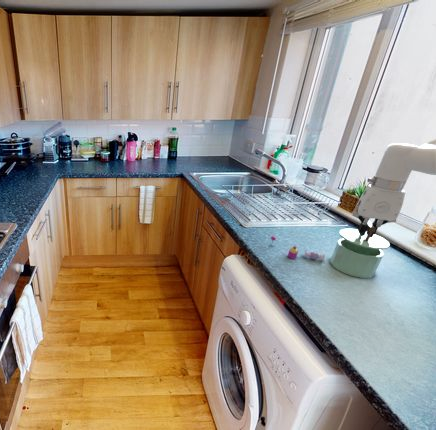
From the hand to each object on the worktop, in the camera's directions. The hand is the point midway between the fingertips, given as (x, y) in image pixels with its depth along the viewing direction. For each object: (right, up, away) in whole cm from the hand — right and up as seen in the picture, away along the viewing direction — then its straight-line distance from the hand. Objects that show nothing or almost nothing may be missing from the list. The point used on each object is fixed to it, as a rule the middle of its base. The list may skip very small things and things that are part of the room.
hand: (365, 234), depth 98 cm
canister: (0, -12, +6) cm, 14 cm away
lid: (0, -2, +1) cm, 2 cm away
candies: (-16, -9, +13) cm, 22 cm away
